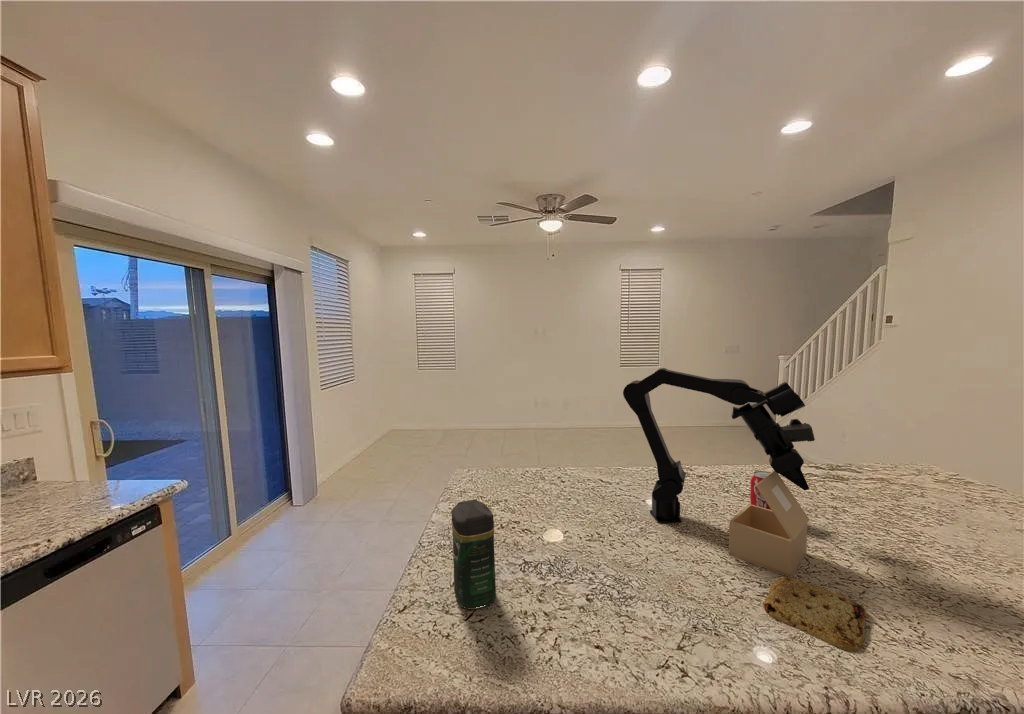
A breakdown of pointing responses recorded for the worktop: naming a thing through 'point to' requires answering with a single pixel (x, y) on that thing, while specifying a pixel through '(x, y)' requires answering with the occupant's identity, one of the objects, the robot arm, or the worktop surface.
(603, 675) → the worktop surface
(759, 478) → the soda can
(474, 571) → the coffee jar
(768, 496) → the lid flap
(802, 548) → the carton
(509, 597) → the worktop surface
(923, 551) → the worktop surface
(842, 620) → the pastry
